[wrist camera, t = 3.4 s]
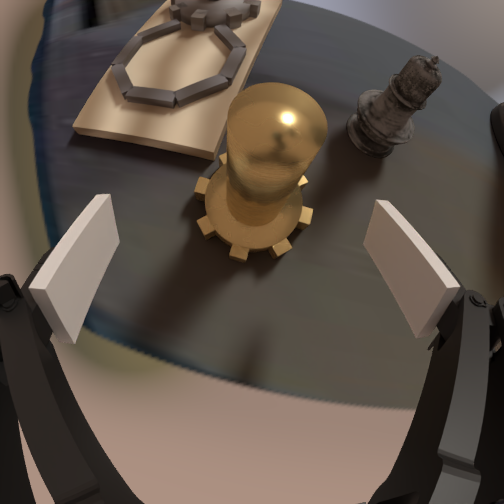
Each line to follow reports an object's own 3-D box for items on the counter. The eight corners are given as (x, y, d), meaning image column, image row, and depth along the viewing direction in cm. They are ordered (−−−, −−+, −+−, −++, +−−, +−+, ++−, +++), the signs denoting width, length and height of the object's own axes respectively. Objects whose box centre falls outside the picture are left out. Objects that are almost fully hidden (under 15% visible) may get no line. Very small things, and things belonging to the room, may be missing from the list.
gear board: (280, 7, 27) (286, -18, 22) (214, 161, 22) (212, 132, 18) (182, -6, 26) (180, -30, 22) (78, 134, 22) (58, 109, 17)
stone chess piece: (357, 163, 24) (432, 84, 12) (335, 110, 24) (387, 22, 13) (404, 158, 24) (481, 94, 13) (382, 109, 25) (440, 37, 13)
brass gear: (315, 175, 23) (380, 86, 11) (291, 276, 22) (364, 253, 10) (215, 147, 23) (211, 36, 11) (181, 245, 21) (133, 186, 9)
